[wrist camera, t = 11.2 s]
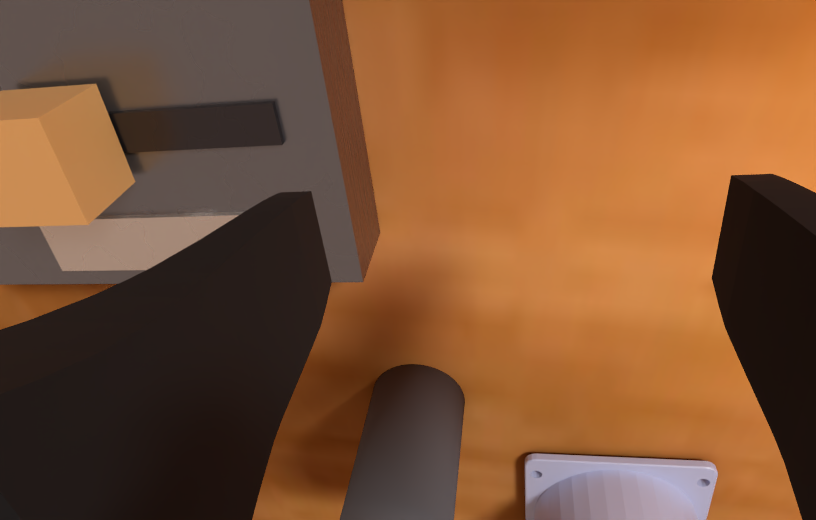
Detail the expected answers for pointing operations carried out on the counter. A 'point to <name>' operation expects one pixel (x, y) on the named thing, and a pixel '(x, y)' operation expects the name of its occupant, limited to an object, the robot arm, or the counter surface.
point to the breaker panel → (196, 125)
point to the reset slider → (58, 157)
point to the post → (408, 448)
